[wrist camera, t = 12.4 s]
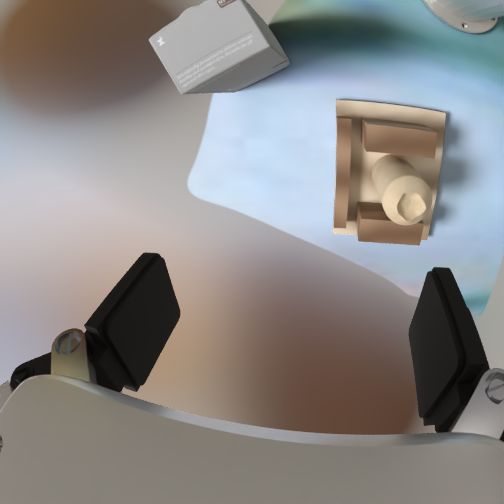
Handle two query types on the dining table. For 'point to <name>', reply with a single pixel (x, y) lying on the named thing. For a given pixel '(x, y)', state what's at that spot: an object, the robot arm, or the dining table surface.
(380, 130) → the holder
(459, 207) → the dining table surface
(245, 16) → the skincare box
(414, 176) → the candle
